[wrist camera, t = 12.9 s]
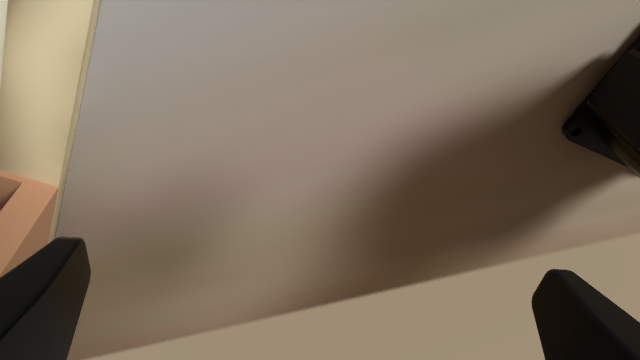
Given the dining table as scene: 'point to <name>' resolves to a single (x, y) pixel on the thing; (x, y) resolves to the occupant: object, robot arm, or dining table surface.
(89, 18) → the base rail
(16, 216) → the socket
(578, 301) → the robot arm
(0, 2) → the beige cradle bracket
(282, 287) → the dining table surface
